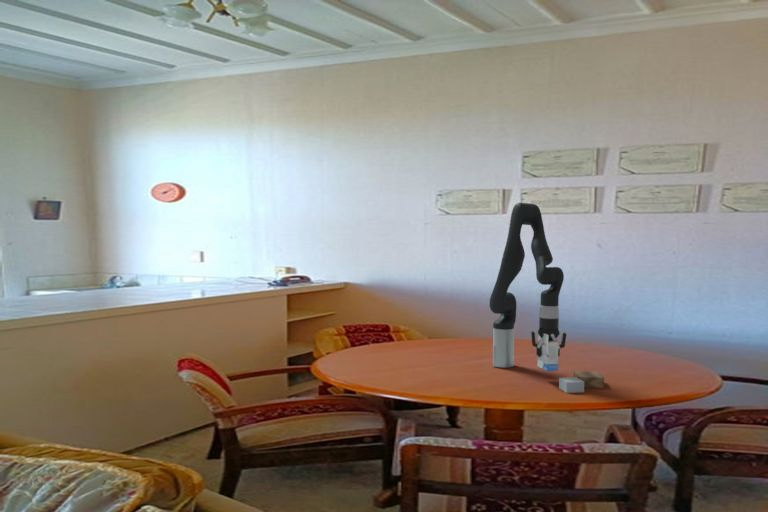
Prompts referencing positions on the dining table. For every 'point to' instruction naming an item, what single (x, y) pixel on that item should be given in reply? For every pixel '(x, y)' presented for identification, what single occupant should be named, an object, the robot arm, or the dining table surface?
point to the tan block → (590, 378)
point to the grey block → (571, 385)
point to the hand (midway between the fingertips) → (547, 357)
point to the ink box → (548, 355)
